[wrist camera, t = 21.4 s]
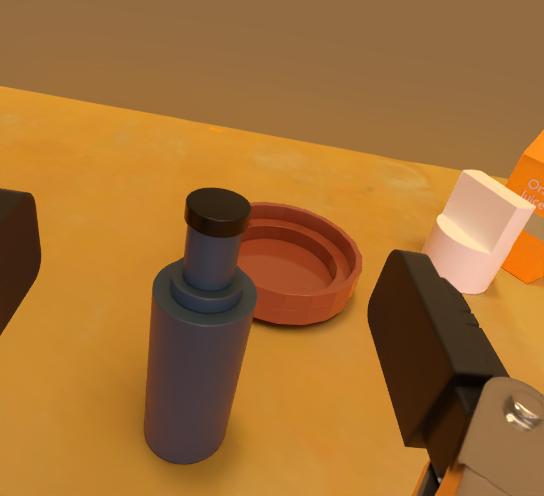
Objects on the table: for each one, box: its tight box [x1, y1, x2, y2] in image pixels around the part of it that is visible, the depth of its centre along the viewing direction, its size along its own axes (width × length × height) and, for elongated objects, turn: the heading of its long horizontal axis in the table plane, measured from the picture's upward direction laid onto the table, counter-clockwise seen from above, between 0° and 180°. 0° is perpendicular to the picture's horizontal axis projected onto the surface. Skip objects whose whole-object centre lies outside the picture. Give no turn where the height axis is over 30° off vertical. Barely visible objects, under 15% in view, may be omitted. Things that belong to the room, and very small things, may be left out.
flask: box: [144, 188, 257, 464], centre depth 27 cm, size 6×6×18 cm
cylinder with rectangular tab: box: [421, 170, 536, 294], centre depth 53 cm, size 9×9×12 cm
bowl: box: [237, 202, 362, 325], centre depth 47 cm, size 16×16×4 cm
